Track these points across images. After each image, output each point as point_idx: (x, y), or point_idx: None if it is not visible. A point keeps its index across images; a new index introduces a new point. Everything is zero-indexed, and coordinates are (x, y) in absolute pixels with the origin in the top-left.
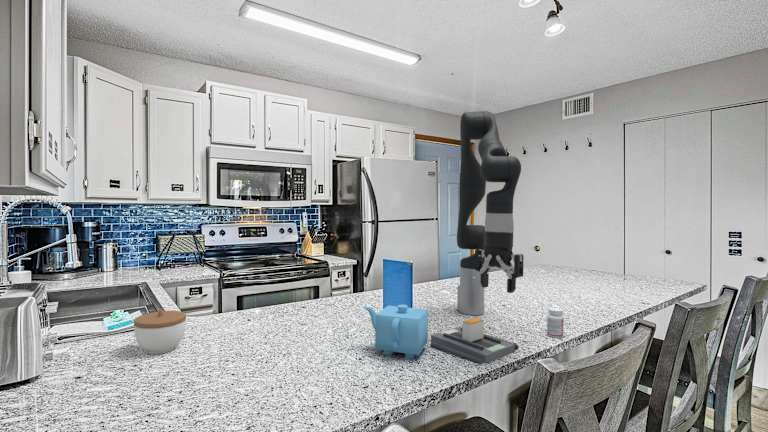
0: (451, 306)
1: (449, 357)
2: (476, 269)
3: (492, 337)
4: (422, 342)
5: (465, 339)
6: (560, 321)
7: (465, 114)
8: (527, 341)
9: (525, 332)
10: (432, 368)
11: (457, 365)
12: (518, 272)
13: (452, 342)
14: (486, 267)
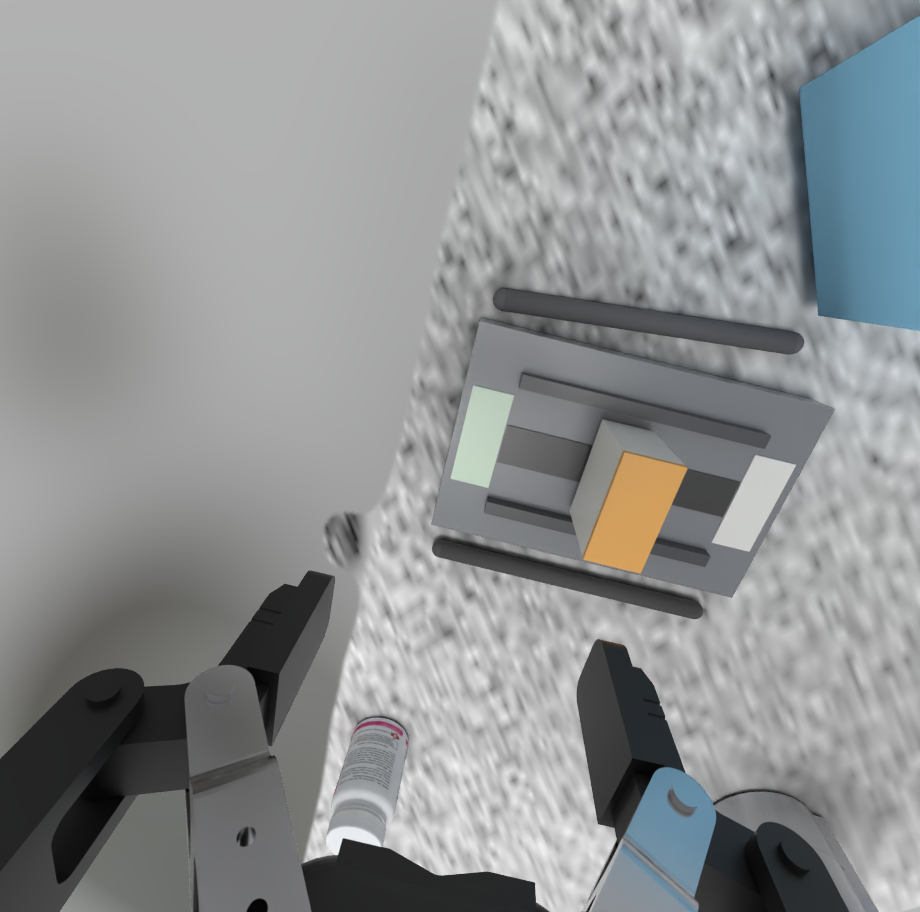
0: (867, 854)
1: (651, 267)
2: (779, 840)
3: (555, 576)
4: (834, 175)
5: (634, 428)
6: (339, 783)
7: None
8: (437, 636)
9: (478, 716)
10: (675, 64)
11: (580, 199)
12: (30, 733)
13: (687, 377)
14: (613, 860)
